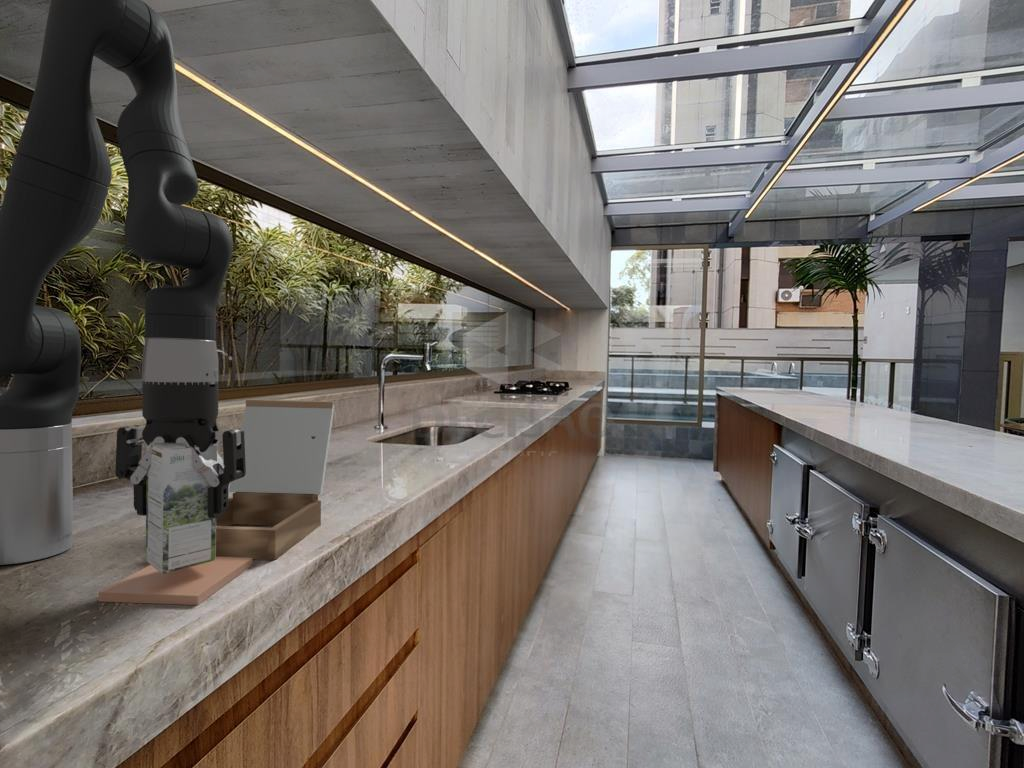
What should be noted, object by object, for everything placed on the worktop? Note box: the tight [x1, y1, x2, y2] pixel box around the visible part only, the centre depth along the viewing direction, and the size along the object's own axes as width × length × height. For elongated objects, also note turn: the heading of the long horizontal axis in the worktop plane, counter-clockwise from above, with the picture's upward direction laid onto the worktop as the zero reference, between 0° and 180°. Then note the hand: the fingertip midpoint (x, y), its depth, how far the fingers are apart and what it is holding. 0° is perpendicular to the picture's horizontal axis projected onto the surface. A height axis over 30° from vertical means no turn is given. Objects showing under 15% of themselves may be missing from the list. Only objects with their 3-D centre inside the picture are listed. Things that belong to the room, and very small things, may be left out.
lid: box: [228, 399, 336, 496], centre depth 86 cm, size 15×6×15 cm, turn 88°
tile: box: [98, 556, 254, 606], centre depth 61 cm, size 11×11×1 cm
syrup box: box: [145, 442, 218, 574], centre depth 61 cm, size 6×6×14 cm
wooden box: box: [216, 436, 322, 561], centre depth 78 cm, size 15×19×14 cm
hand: (181, 515), depth 61 cm, fingers closed on syrup box, 8 cm apart
